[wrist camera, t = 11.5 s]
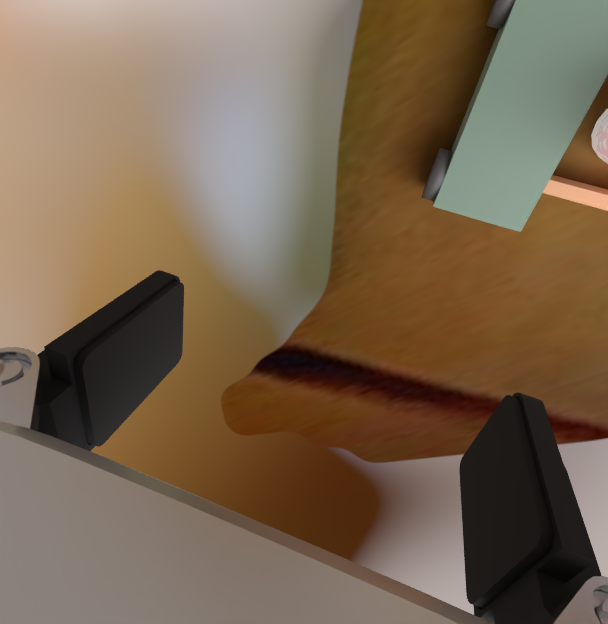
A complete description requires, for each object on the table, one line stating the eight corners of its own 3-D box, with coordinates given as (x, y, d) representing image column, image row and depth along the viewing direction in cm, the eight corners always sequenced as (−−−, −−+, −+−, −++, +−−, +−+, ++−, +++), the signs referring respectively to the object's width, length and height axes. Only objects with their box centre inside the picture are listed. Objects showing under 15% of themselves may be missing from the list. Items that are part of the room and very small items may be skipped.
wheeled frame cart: (511, -44, 26) (521, -62, 22) (811, 15, 23) (872, 4, 20) (422, 191, 35) (420, 203, 31) (633, 251, 32) (655, 271, 29)
